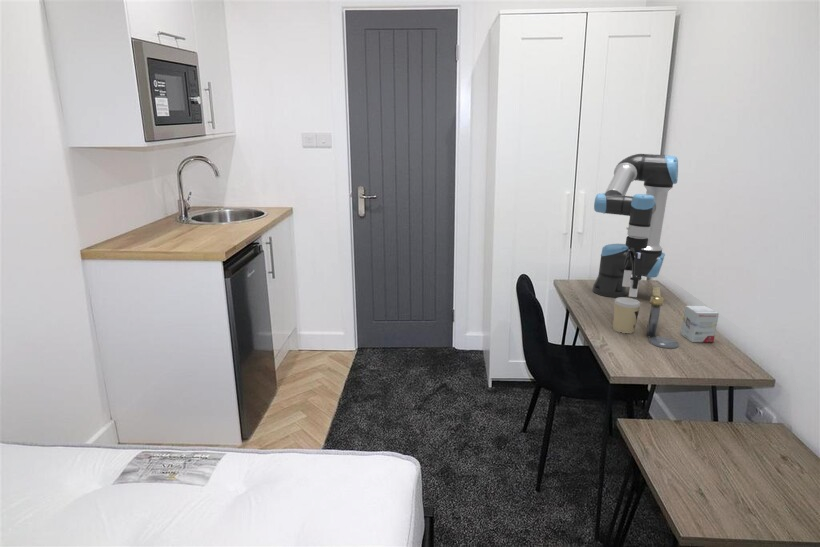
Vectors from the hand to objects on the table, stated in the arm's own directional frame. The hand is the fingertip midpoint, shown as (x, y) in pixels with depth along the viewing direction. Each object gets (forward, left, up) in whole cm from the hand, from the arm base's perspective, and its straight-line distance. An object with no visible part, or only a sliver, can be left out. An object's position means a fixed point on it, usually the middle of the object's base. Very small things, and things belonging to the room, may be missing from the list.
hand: (629, 291), depth 207 cm
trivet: (+5, +15, -16) cm, 22 cm away
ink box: (-8, +25, -16) cm, 31 cm away
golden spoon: (-7, +9, -3) cm, 12 cm away
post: (0, +10, -16) cm, 19 cm away
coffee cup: (0, 0, -16) cm, 16 cm away
